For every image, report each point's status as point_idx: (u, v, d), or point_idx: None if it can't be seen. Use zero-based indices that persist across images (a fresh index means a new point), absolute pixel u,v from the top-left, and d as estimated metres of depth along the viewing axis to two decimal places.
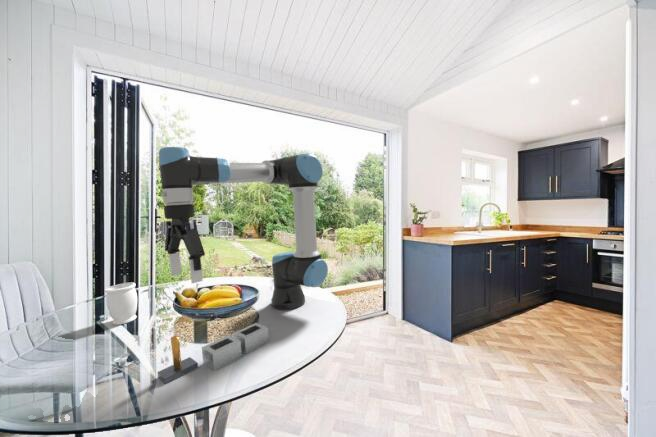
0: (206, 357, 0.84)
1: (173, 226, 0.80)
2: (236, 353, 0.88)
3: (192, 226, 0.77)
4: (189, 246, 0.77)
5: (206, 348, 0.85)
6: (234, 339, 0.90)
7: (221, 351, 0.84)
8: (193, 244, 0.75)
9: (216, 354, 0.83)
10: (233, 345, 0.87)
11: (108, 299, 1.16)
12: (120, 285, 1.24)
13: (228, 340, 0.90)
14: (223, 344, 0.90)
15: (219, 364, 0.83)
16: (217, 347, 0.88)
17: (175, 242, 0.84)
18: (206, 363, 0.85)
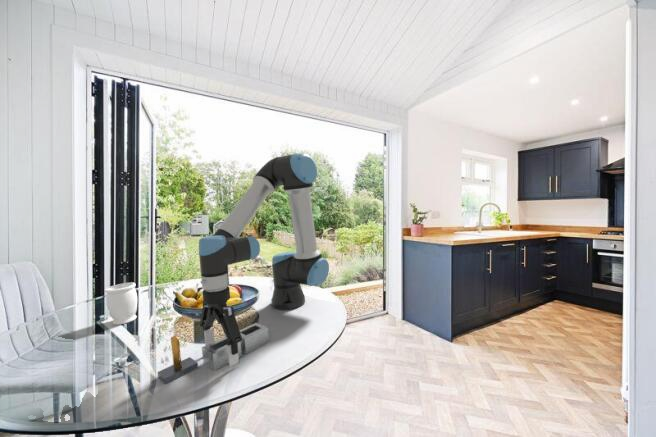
0: (206, 357, 0.84)
1: (210, 309, 0.85)
2: None
3: (230, 313, 0.82)
4: (227, 331, 0.82)
5: (206, 348, 0.85)
6: None
7: (221, 351, 0.84)
8: (232, 331, 0.80)
9: (216, 354, 0.83)
10: None
11: (108, 299, 1.16)
12: (120, 285, 1.24)
13: None
14: (223, 344, 0.90)
15: (219, 364, 0.83)
16: (217, 347, 0.88)
17: (211, 320, 0.89)
18: (206, 363, 0.85)
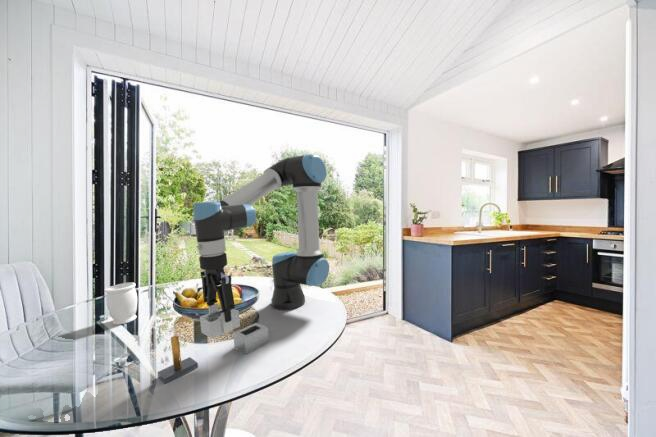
0: (204, 326, 0.84)
1: (208, 274, 0.85)
2: (234, 323, 0.87)
3: (227, 281, 0.81)
4: (222, 299, 0.83)
5: (204, 317, 0.84)
6: (232, 309, 0.89)
7: (219, 319, 0.83)
8: (226, 300, 0.81)
9: (214, 322, 0.82)
10: (231, 314, 0.86)
11: (108, 299, 1.16)
12: (120, 285, 1.24)
13: None
14: None
15: (217, 332, 0.83)
16: (215, 317, 0.88)
17: (212, 291, 0.88)
18: (204, 332, 0.85)
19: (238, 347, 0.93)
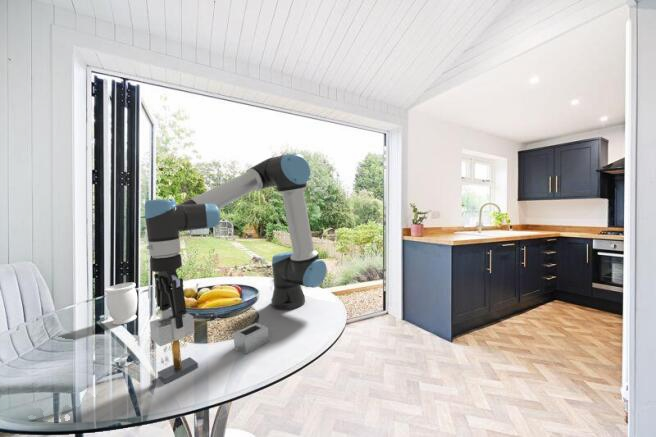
0: (153, 332, 0.78)
1: (159, 277, 0.79)
2: (188, 329, 0.81)
3: (178, 285, 0.76)
4: (173, 304, 0.77)
5: (154, 323, 0.79)
6: (187, 315, 0.83)
7: (169, 325, 0.78)
8: (176, 304, 0.76)
9: (163, 328, 0.76)
10: (184, 320, 0.81)
11: (108, 299, 1.16)
12: (120, 285, 1.24)
13: None
14: None
15: (166, 339, 0.77)
16: (168, 323, 0.82)
17: (166, 295, 0.82)
18: (154, 339, 0.79)
19: (238, 347, 0.93)
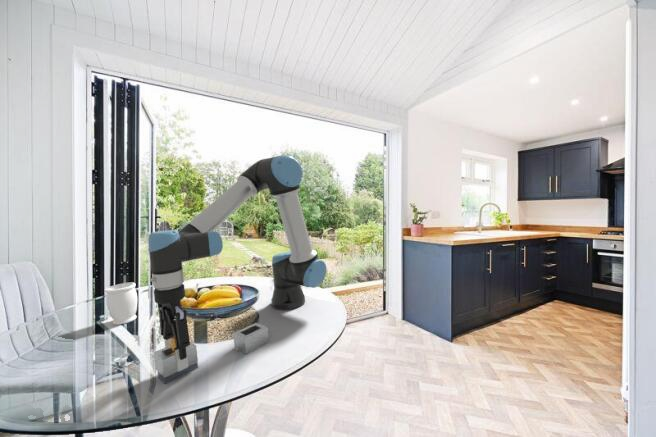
0: (157, 363, 0.79)
1: (163, 308, 0.80)
2: (191, 359, 0.82)
3: (182, 317, 0.77)
4: (176, 335, 0.78)
5: (158, 353, 0.80)
6: (190, 343, 0.84)
7: (173, 356, 0.78)
8: (180, 336, 0.76)
9: (167, 360, 0.77)
10: (187, 350, 0.81)
11: (108, 299, 1.16)
12: (120, 285, 1.24)
13: None
14: None
15: (170, 370, 0.78)
16: (171, 352, 0.83)
17: (169, 324, 0.83)
18: (157, 369, 0.80)
19: (238, 347, 0.93)
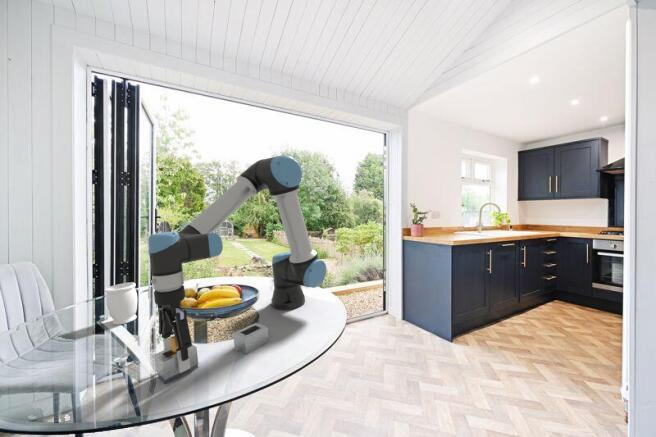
0: (158, 365, 0.79)
1: (163, 309, 0.80)
2: (191, 360, 0.82)
3: (182, 317, 0.77)
4: (177, 336, 0.78)
5: (158, 356, 0.80)
6: None
7: (173, 359, 0.78)
8: (181, 337, 0.76)
9: (167, 362, 0.77)
10: None
11: (108, 299, 1.16)
12: (120, 285, 1.24)
13: None
14: None
15: (171, 372, 0.78)
16: (171, 354, 0.83)
17: (168, 325, 0.83)
18: (158, 371, 0.80)
19: (238, 347, 0.93)
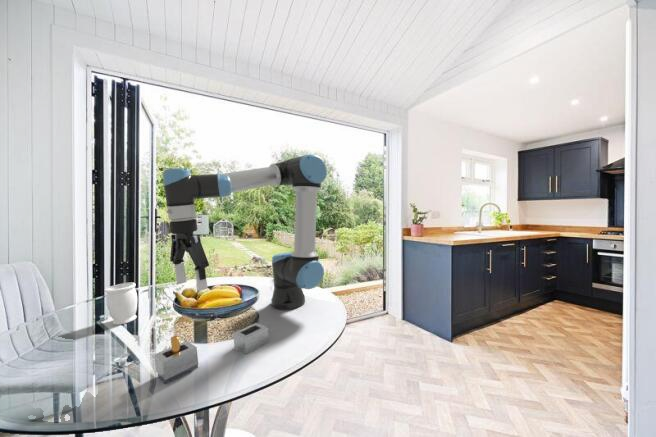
0: (158, 365, 0.79)
1: (178, 240, 0.88)
2: (191, 360, 0.82)
3: (196, 240, 0.85)
4: (194, 258, 0.85)
5: (158, 356, 0.80)
6: (190, 345, 0.84)
7: (173, 359, 0.78)
8: (198, 256, 0.83)
9: (167, 362, 0.77)
10: (188, 352, 0.81)
11: (108, 299, 1.16)
12: (120, 285, 1.24)
13: (184, 346, 0.85)
14: None
15: (171, 372, 0.78)
16: (171, 354, 0.83)
17: (180, 253, 0.92)
18: (158, 371, 0.80)
19: (238, 347, 0.93)
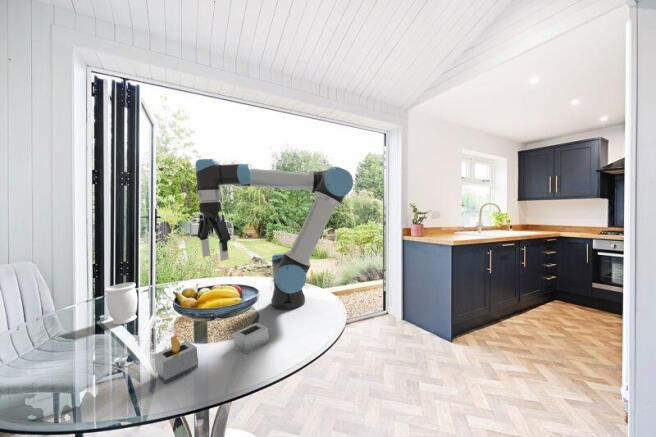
0: (158, 365, 0.79)
1: (205, 218, 1.07)
2: (191, 360, 0.82)
3: (221, 218, 1.03)
4: (219, 233, 1.03)
5: (158, 356, 0.80)
6: (190, 345, 0.84)
7: (173, 359, 0.78)
8: (222, 231, 1.01)
9: (167, 362, 0.77)
10: (188, 352, 0.81)
11: (108, 299, 1.16)
12: (120, 285, 1.24)
13: (184, 346, 0.85)
14: None
15: (171, 372, 0.78)
16: (171, 354, 0.83)
17: (206, 230, 1.11)
18: (158, 371, 0.80)
19: (238, 347, 0.93)
